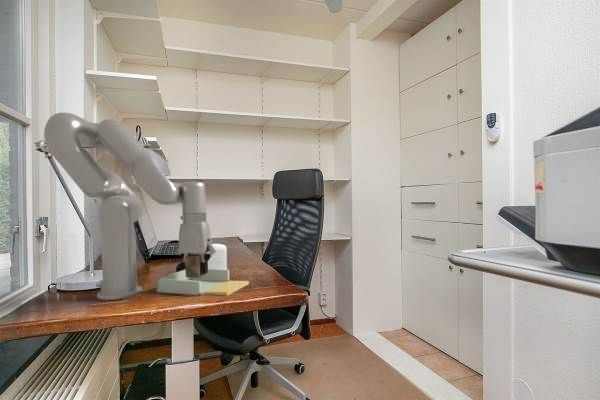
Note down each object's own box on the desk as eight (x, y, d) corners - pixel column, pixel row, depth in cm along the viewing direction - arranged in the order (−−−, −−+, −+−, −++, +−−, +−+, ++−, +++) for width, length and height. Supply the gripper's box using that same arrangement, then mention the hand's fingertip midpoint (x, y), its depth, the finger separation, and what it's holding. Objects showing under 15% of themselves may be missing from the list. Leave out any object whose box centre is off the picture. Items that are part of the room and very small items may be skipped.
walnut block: (185, 277, 105) (184, 256, 105) (195, 273, 110) (194, 253, 110) (198, 277, 103) (197, 256, 103) (207, 274, 108) (207, 253, 108)
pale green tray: (156, 294, 101) (155, 279, 101) (191, 281, 117) (190, 267, 117) (201, 298, 96) (200, 282, 96) (231, 284, 112) (230, 269, 112)
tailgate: (204, 292, 97) (227, 292, 95) (227, 280, 110) (248, 280, 108) (204, 296, 97) (227, 296, 95) (228, 284, 110) (249, 284, 108)
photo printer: (224, 272, 131) (224, 242, 131) (228, 274, 127) (228, 243, 127) (199, 276, 125) (198, 244, 125) (203, 278, 121) (202, 245, 121)
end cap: (182, 274, 130) (182, 257, 130) (200, 273, 131) (200, 256, 131) (175, 280, 120) (175, 262, 120) (195, 279, 121) (194, 261, 121)
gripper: (165, 220, 105) (168, 275, 106) (210, 219, 100) (212, 277, 100) (180, 218, 113) (183, 270, 113) (223, 217, 107) (225, 271, 107)
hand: (196, 272), depth 106 cm, fingers closed on walnut block, 5 cm apart
